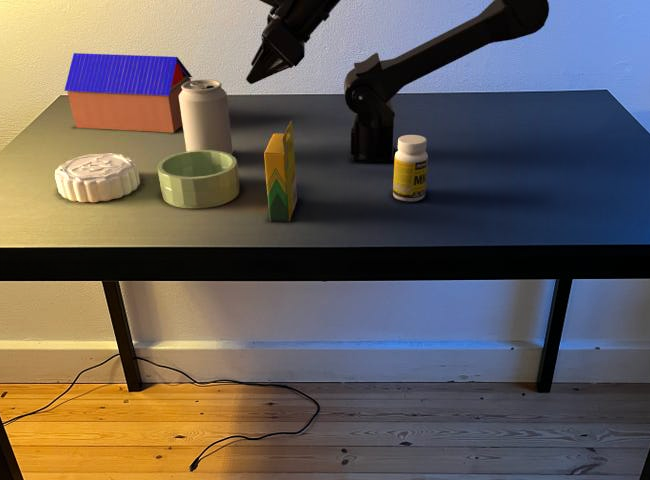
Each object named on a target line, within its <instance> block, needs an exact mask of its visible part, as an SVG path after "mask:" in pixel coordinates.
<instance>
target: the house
mask: <svg viewBox="0 0 650 480" xmlns="http://www.w3.org/2000/svg"><path fill="white" fill-rule="evenodd" d="M192 78H194V77H193V76H192V75H191V73H190V72H189V70H188V69H187V68H186V66H185V65H184V64H183V63H182V61H181V60H180V58H179V57H178V56H168V55H167V56H166V55H165V56H164V55H163V56H162V55H139V54H138V55H136V54H135V55H134V54H110V53H79V52H73V55H72V58H71V62H70V66H69V70H68V75H67V79H66V83H65V86H64V92H67V97H68V101H69V105H70V109H71V113H72V118H73V121H74V127H75V128H80V129H100V130H101V129H102V130H117V131H118V130H120V131H137V132H155V133H157V132H158V133H175V132H177V130H179V129H180V128H181V127H183V123H182V116H181V109H180V102H179V94H180V93H181V92H182V90H183V89H182V87H181V86H182V85H183V84H184V83H186V82H189V81H192Z"/></svg>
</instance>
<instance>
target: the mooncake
mask: <svg viewBox="0 0 650 480" xmlns="http://www.w3.org/2000/svg"><path fill="white" fill-rule="evenodd" d="M139 173H140V172H139V170H138V163H137V161H136V160H134V159H133V158H132V157H129V156H126V155H124V154H121V153H113V152H105V153H99V154H97V153H96V154H94V153H93V154H89V153H88V154H84V155H81V156H75V157H73V158H72V159H70V160H67V161H66V162H65V163H62V164H60V165H59V166H58V167H57V168H56V169H55V173H54V178H55V182H56V186H57V190H58V193H59V194H60V195H61V197H63V199H68V200H69V201H71V202H76V201H78V202H79V203H89V202H90V203H98V202H109V201H111V200H114V199H115V200H116V199H120V198H122V197H123V196H128V195H130V194H131V193H132V192H134V191H136V190H137V189H138V186H140V184H141V180H140V178H141V177H140V174H139Z"/></svg>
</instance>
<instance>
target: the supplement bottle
mask: <svg viewBox="0 0 650 480" xmlns="http://www.w3.org/2000/svg"><path fill="white" fill-rule="evenodd" d="M427 143H428V142H427V138H426V137H425V136H422V135H418V134H405V135H402V136H400V137H398V140H397V151H396V152H395V154H394V161H393V163H394V165H393V166H394V167H393V184H392V195H393V197H394V198H395V199H396V200H399V201H402V202H409V203H411V202H412V203H413V202H419V201H420V200H423V199H424V198H425V196H426V186H427V175H428V174H427V173H428V161H429V155H428V152H426V150H427V146H428V145H427Z"/></svg>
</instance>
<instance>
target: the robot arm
mask: <svg viewBox="0 0 650 480" xmlns="http://www.w3.org/2000/svg"><path fill="white" fill-rule="evenodd" d="M259 1H260V2H262V3H264V4H266V5H268V6H270V7H271V8H270V10H269V13H268V14H267V16H266V27H265V28H264V29H263V30H262V33H261V43H260V45H259V47H258V49H257V51H256V53H255V55H254V57H253V58H252V61H251V62H250V65H251V66H252V67H251V68H250V71H249V72H248V74H247V76H246V78H245V81H246V82H248V84H249V85H253V84H256V83H258V82H260V81H262V80H264V79H267V78H268V77H272V76H273V75H276V74H278V73H280V72H283V71H285V70H288V69H292V68H294V67H297V66H298V65H299V64H300V62H301V61H302V60H304V58H305V56H306V45H305V44H307V43H308V42H309V41H310V40H311V35H312V34H313V33H314V32H315V31H316V30H317V28H318V27H320V25H321V24H322V23H323V22H326V21H327V20H328V18H330V15H331V14H330V13H331V12H333V10H334V9H335V7H336V6H338V4H339V3H340V2H341V1H342V0H259ZM549 13H550V4H549V0H492V2H491V3H489V5H488V6H487V7H486V8H485V9H483V10H482V11H481V12H480V13H479V14H478V15H476V16H474V17H472V18H470V19H468V20H467V21H465V22H463V23H461V24H459V25H457V26H455V27H453V28H450V29H449V30H447V31H445V32H443V33H442V34H439V35H437V36H436V37H433V38H431V39H429V40H427V41H425V42H423V43H422V44H419V45H417V46H416V47H413V48H412V49H409V50H408V51H406V52H404V53H402V54H401V55H398V56H395V57H394V58H390V59H389V58H388V59H384V60H381V59H380V56H379V53H378V52H375V53H373V54H372V55H370V56H369V57H367V58H366V59H365V60H362V61H359V62H353V68H352V69H351V70H349V71H348V72H347V74H346V76H345V78H344V81H343V93H344V100H345V105H346V106H347V107H348V108H349V110H350V111H352V113H354V114H355V117H354V120H353V121H354V123H353V124H352V125H351V128H350V154H351V155H352V162H357V163H358V162H360V163H394V161H393V160H394V124H395V117H396V112H395V108H394V105H393V102H392V99H393V97H395V96H396V95H397V94H398V93H399V92H400V91H401V90H402V89H403V88H404V87H406V86H407V85H408V84H411V83H413V82H416V81H418V80H419V79H421V78H423V77H425V76H427V75H429V74H431V73H433V72H435V71H437V70H439V69H441V68H443V67H446V66H447V65H449V64H451V63H453V62H455V61H457V60H460V59H461V58H463V57H465V56H467V55H470V54H472V53H473V52H476V51H479V50H480V49H482V48H483V47H486V46H488V45H489V44H490V45H491V44H493V43H500V42H506V41H513V40H516V39H520V38H523V37H526V36H530V35H533V34H535V33H537V32H539V31H540V30H541V29H542V28H543V27H544V26H545V25H546V22H547V20H548V18H549Z"/></svg>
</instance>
